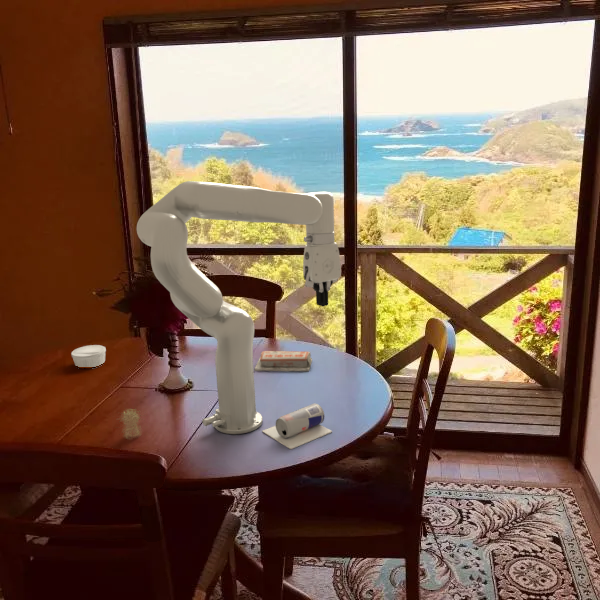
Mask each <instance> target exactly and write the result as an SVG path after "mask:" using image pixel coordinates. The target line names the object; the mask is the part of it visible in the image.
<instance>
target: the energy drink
mask: <svg viewBox="0 0 600 600" xmlns="http://www.w3.org/2000/svg"><path fill="white" fill-rule="evenodd" d="M324 421H325V412H324V410H323V408H322V407H321V406H320V405H319V404H318V403H315V402H314V403H312V404H309V405H306V406H304V407H302V408H299V409H296V410H294V411H291V412H289V413H287V414H284V415H282V416H279V417H278V418H277V419H276V420H275V426H276V429H277V432H278V434H279V435H280V436H281V437H283V438H288V437H291V436H293V435H295V434H298V433H300V432H302V431H305V430H307V429H309V428H312V427H314V426H316V425H318V424H320V425H321V424H322V423H324Z"/></svg>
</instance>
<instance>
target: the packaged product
mask: <svg viewBox="0 0 600 600" xmlns="http://www.w3.org/2000/svg"><path fill="white" fill-rule="evenodd" d="M311 356H312V355H311V352H310V351H297V350H296V351H295V350H294V351H293V350H291V351H290V350H289V351H288V350H285V351H284V350H282V351H281V350H277V351H276V350H263V351H261V352H260V356H259V359H258V360H257V363H255V364H256V365H255V367H254V368H253V371H255V372H264V371H265V372H266V371H268V372H310V369H311V365H312V363H313V359H312V357H311Z"/></svg>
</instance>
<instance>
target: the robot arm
mask: <svg viewBox="0 0 600 600" xmlns="http://www.w3.org/2000/svg"><path fill="white" fill-rule="evenodd" d="M334 201H335V199H334V196H333V194H332V193H331V192H329V191H313V192H308V193H296V192H286V191H279V190H278V191H276V190H272V189H265V188H261V187H254V186H248V185H246V186H245V185H239V184H236V185H235V184H229V183H228V184H227V183H218V182H210V181H209V182H208V181H207V182H206V181H194V180H193V181H192V180H191V181H190V180H187V181H184V182H181V183H180V184H178V185H176V186H174V188H173V189H171V190H170V191H168V193H166V194H165V195H164V196H163V197H162V198H160V200H158V201H157V202H156V203H154V204H153V205H152V206H150V207H149V208H148V209H147V210H146V211H145V212H144V213H143V214H142V215H141V216H140V218H138V221H137V224H136V233H137V236H138V238H139V239H140V241H141V242H142V243H143V244H145V245H146V246H149V247H151V248H150V264H151V268H152V269H151V270H152V273H153V274H154V276H155V278H156V280H158V282H159V283H160V284H161V285H162V286H163V287H164V288H165V289H166V290H167V291H168V292H169V295H170V300H171V302H172V303H173V305H174V306H175V308H177V309H178V310H179V311H180V312H181V313H182V314H183V315H185V316H186V317H187V318H188V320H190V321H191V322H192V323H193V324H195V325H196V326H197V327H198V328H199V329H200V330H201V331H203V332H204V333H206V335H209V336H211V337H212V338H214V339H216V342H217V343H216V344H217V346H216V350H215V358H214V361H215V362H214V363H215V365H214V366H215V373H216V385H217V386H216V387H217V388H216V389H217V399H218V408H215V413H214V414H212V416H208V417H204V418H202V424H203V426H204V427H208V426H210V425H211V426H212V427H213V428H215V430H217V431H219V432H220V433H223V434H227V435H229V434H230V435H241V434H246V433H250V432H253V431H255V430H257V429H259V428H260V427H261V426H262V425H263V422H264V421H263V416H262V414H261V413H260V412H258V411H257V408H256V391H255V389H256V388H255V376H254V375H255V374H254V371H255V370H254V359H253V358H254V357H253V348H254V346H253V344H254V337H255V324H254V320H253V318H252V316H251V315H250V314H249V313H248V312H247V311H246V310H244V309H243V308H241V307H238V306H237V305H234V304H231V303H229V302H226V301H224V298H223V294H222V292H221V290H220V288H219V287H218V286H217V285H216V284H215V283H214V282H213V281H212V280H210V279H209V278H208V277H207V276H206V275H205V274H204V273H203V272H202V271H201V270H200V269H199V268H198V267H197V266H196V265H195V264H194V263H193V262H192V261H191V259H190V258H189V256H188V251H187V245H188V238H189V232H188V231H189V230H188V227H187V225H186V223H187V222H189V220H190V219H192V218H197V219H202V220H213V221H214V220H217V221H220V220H221V221H233V222H234V221H235V222H245V223H247V222H248V223H259V224H260V223H275V224H276V223H277V224H289V225H301V226H302V225H303V226H305V235H306V236H304V237H303V241H304V242H305V243H306V244H305V246H304V249H303V251H304V252H303V261H302V262H303V263H302V268H303V269H302V271H303V280H304V281H305V284H304V286H305V287H307V288H312V289H313V291H314V292H315V302H316V306H317V305H318V306H320V307H327V306H329V291H330V290H331V287H332V285H333V284H334V283H336V282H338V280H339V279H340V278H341V275H342V269H341V268H342V267H341V255H340V250H339V246H338V243H337V242H335V206H334V204H335V203H334Z"/></svg>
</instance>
